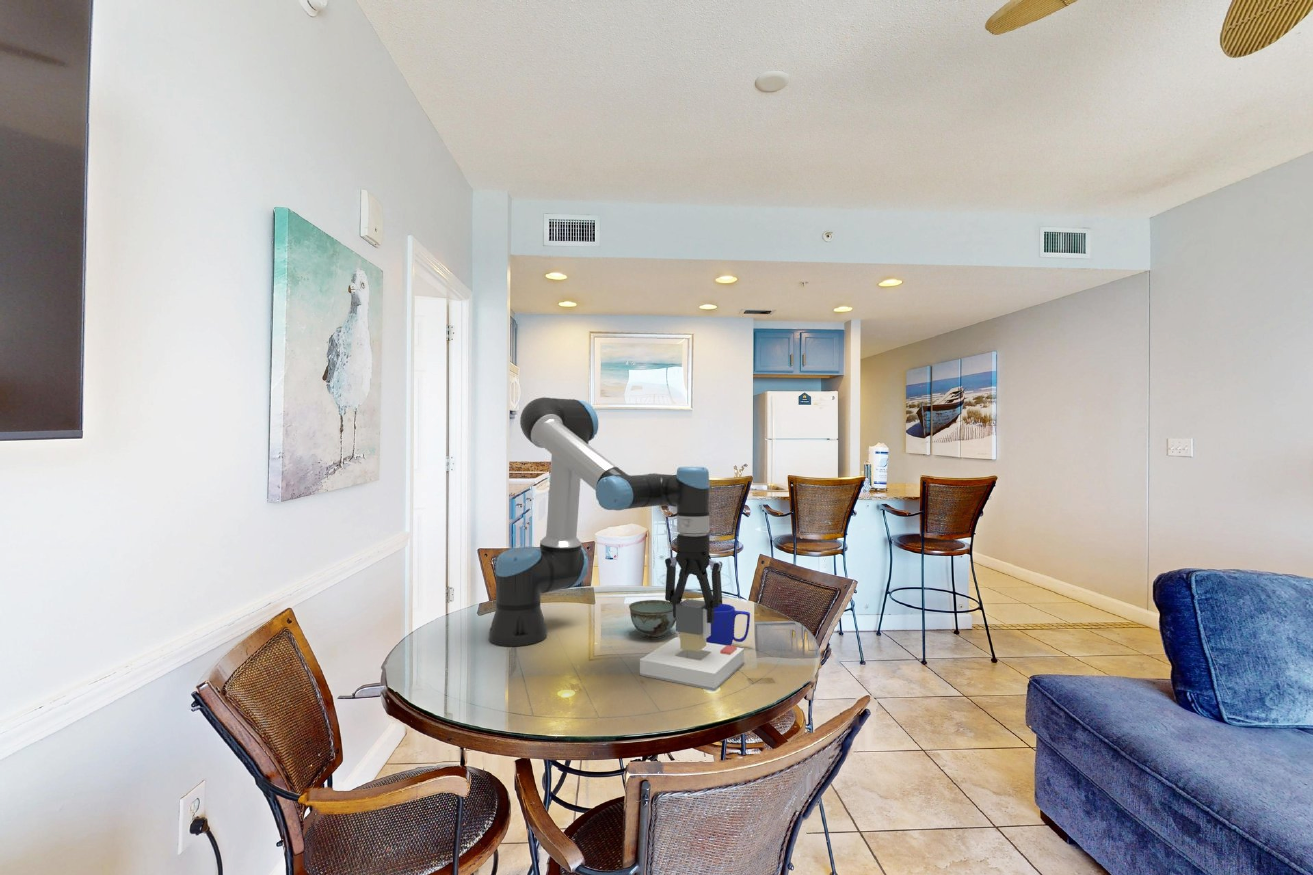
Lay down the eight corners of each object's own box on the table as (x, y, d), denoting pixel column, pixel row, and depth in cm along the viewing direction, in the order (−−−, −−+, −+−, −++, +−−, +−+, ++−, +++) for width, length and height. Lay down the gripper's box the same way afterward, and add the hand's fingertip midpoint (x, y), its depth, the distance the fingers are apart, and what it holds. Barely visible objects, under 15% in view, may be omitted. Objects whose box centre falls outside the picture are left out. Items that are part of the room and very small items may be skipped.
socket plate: (639, 675, 135) (640, 656, 135) (675, 651, 150) (675, 634, 150) (714, 690, 126) (714, 670, 126) (744, 663, 142) (743, 645, 142)
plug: (675, 648, 137) (675, 604, 137) (687, 641, 142) (686, 598, 142) (700, 653, 134) (699, 607, 134) (710, 645, 139) (710, 601, 140)
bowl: (669, 645, 155) (669, 614, 155) (621, 639, 159) (621, 609, 160) (684, 630, 168) (684, 601, 168) (640, 625, 172) (640, 597, 172)
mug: (749, 654, 148) (749, 613, 149) (700, 650, 151) (700, 610, 151) (750, 643, 156) (750, 604, 157) (704, 640, 159) (704, 602, 159)
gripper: (649, 532, 140) (649, 632, 140) (725, 538, 131) (726, 645, 131) (664, 529, 147) (664, 624, 146) (737, 534, 138) (738, 635, 137)
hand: (693, 634), depth 138 cm, fingers closed on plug, 6 cm apart
